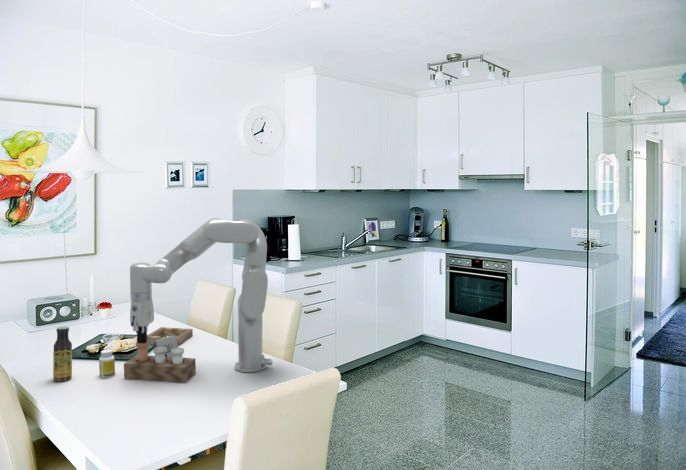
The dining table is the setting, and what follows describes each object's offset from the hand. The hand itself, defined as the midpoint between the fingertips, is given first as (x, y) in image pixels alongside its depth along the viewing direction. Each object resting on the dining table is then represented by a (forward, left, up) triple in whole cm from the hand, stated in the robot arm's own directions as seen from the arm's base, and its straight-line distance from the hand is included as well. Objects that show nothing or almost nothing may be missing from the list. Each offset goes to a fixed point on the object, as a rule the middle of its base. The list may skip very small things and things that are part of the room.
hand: (142, 342), depth 200 cm
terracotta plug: (0, 0, -10) cm, 10 cm away
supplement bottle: (+13, +3, -13) cm, 19 cm away
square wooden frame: (+10, -43, -13) cm, 46 cm away
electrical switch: (0, -19, -13) cm, 23 cm away
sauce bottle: (+27, +9, -13) cm, 31 cm away
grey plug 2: (-14, 0, -12) cm, 19 cm away
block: (-7, 0, -13) cm, 15 cm away
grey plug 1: (-7, 0, -12) cm, 14 cm away
